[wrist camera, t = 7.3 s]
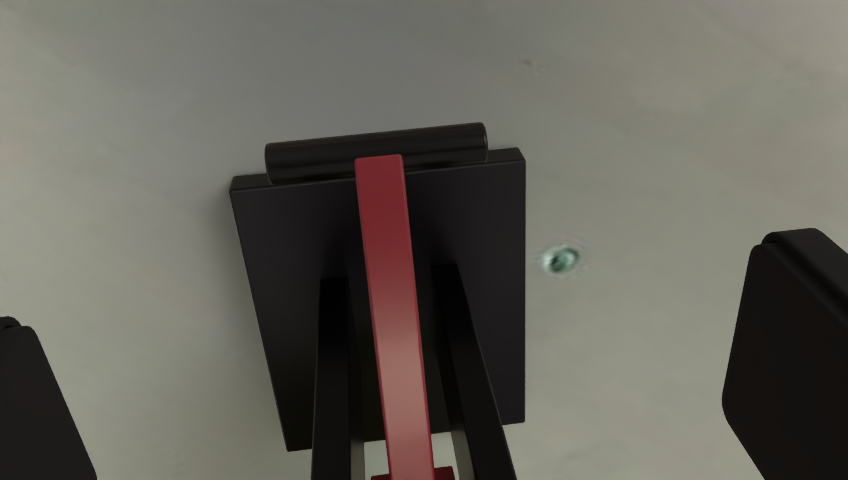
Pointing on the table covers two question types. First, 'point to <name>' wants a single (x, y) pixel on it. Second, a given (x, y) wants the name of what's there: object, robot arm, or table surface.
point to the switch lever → (388, 260)
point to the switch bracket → (351, 315)
